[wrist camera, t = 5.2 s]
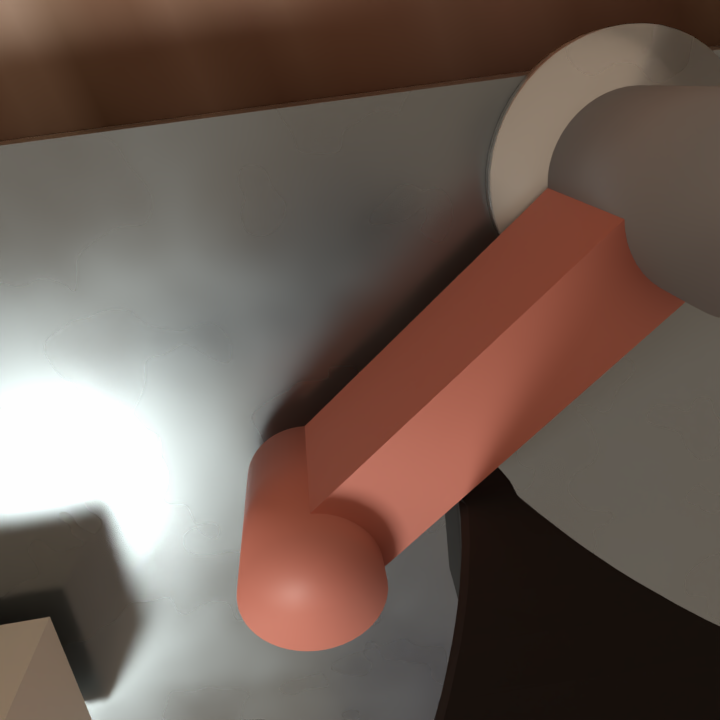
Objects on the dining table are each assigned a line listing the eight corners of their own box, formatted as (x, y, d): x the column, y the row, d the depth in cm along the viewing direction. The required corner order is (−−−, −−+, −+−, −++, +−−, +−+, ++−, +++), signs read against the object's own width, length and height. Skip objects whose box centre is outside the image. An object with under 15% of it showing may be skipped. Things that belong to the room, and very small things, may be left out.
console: (767, 587, 17) (900, 727, 13) (-277, 771, 16) (-449, 982, 12) (866, -6, 12) (1135, -45, 8) (-715, 201, 10) (-1272, 268, 7)
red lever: (317, 549, 12) (329, 703, 9) (213, 476, 11) (188, 618, 8) (733, 169, 10) (920, 208, 7) (644, 46, 9) (815, 29, 6)
